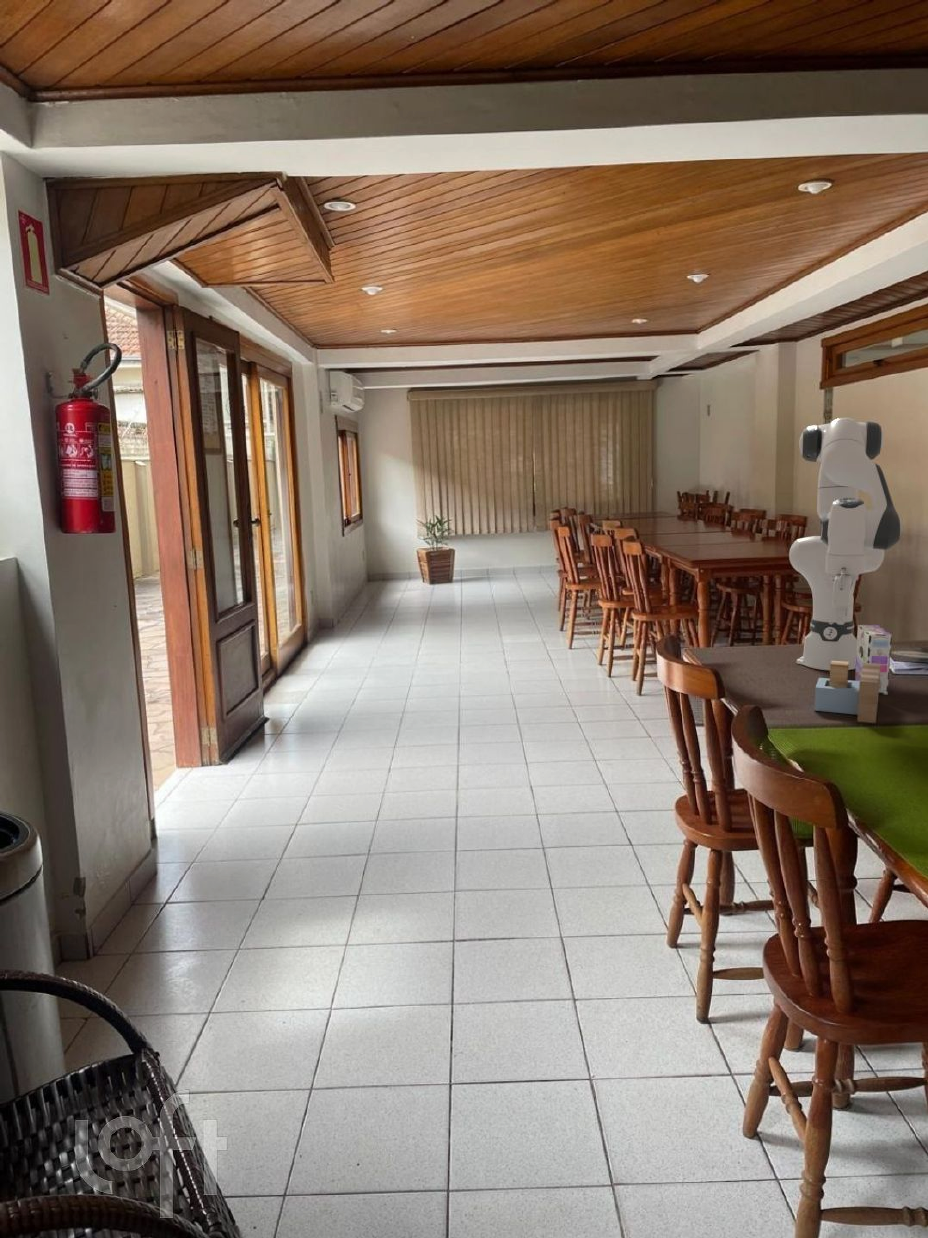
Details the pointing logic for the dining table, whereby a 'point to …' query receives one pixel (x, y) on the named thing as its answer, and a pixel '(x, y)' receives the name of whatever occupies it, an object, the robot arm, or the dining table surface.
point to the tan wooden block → (838, 674)
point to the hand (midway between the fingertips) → (841, 620)
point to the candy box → (874, 652)
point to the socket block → (837, 697)
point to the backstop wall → (868, 692)
